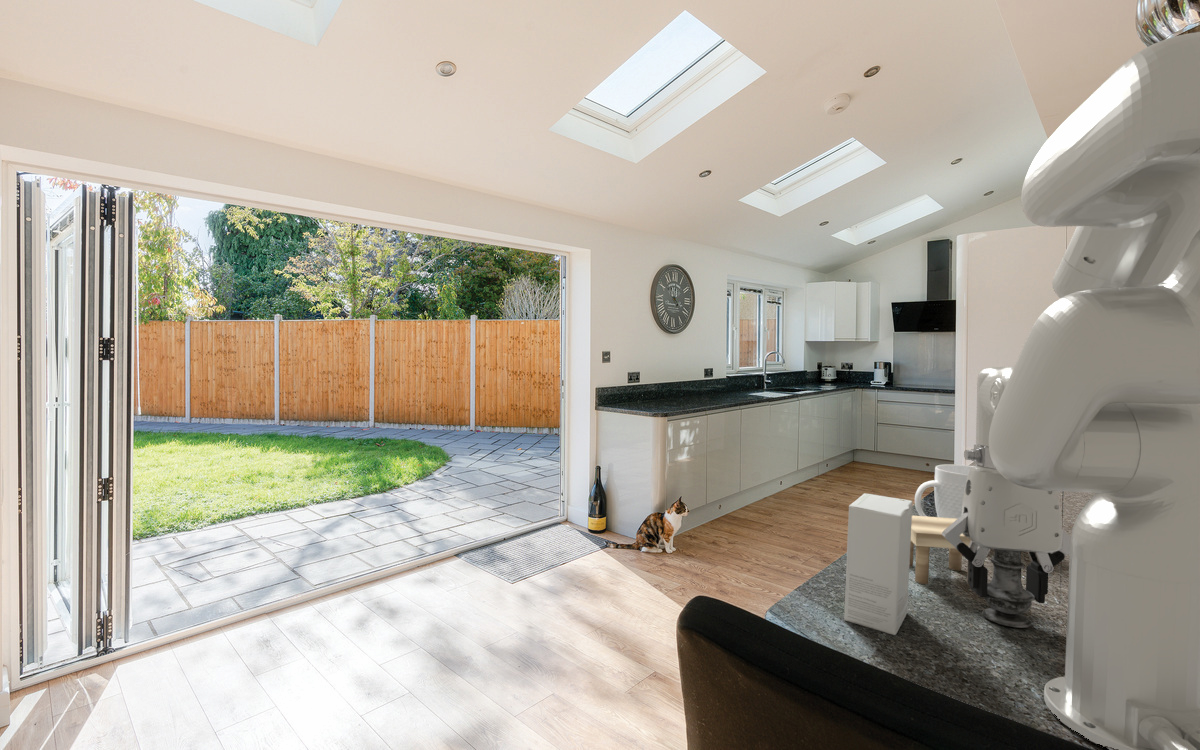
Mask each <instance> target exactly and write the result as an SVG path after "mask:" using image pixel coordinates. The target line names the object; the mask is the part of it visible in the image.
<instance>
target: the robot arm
mask: <svg viewBox="0 0 1200 750" xmlns="http://www.w3.org/2000/svg"><path fill="white" fill-rule="evenodd" d="M1020 198H1021V200H1020V201H1021V202H1020V203H1021V207H1022V211H1023V213H1024V215H1025V217H1026V218H1027V219H1028V221H1030V222H1031V223H1033V224H1035V225H1037V226H1040V227H1043V228H1044V227H1049V228H1051V227H1052V228H1056V227H1061V228H1062V227H1063V228H1064V227H1076V228H1075V230H1074V232H1073V234H1072V236H1071V238H1070V240H1069V243H1068V245H1067V247H1066V250H1065V251H1064V253H1063V256H1062V257H1061V261H1060V262H1059V266H1058V267H1057V269H1056V270H1055V273H1054V274H1053V278H1052V281H1051V282H1052V283H1051V284H1052V289H1053V291H1054V293H1055V294H1056V296H1057V297H1058V298H1059V299H1057V300H1055V301H1054V302H1053V303H1051V304H1050V305H1049V306H1047V308H1046V309H1044V311H1043V312H1042V313H1041V314H1040V315H1039V316H1038V318H1037V319H1036V320H1035V322H1034V324H1033V325H1032V327H1031V329H1030V331H1029V333H1028V335H1027V337H1026V339H1025V340H1024V341H1025V342H1024V343H1023V346H1022V349H1021V350H1020V353H1019V354H1018V358H1017V360H1016V362H1015V363H1014V365H1010V366H993V367H986V368H983V369H982V370H980V372H979V374H978V376H977V382H976V417H975V418H976V419H975V420H976V421H975V422H976V424H975V425H976V426H975V427H976V428H975V430H976V431H975V444H973V448H971V449H965V450H964V453H963V457H964V459H965V460H966V461H967V460H968V461H972V462H973V464H974V466H975V467H970V470H969V473H968V477H967V481H966V485H965V490H964V496H963V504H962V514H961V516H960V517H959V518H958V519H957V520H956V521H955V522H953V523H952V524H951V525H950V526H949V527H947V528H946V529H945V530H944V531H943V532H942V535H943V537H944V538H945V539H946V540H948V541H949V542H950V543H951V544H952V545H953V546H954V547H955V548H956V549H957V550H958V551H959V552H960V553H961V554H962V557H963V558H965V559H966V560H967V571H968V584H969V586H970V587H971V588H970V587H969V588H970V589H971V591H972V592H974V593H975V594H976V595H977V596H978V597H979V598H983V599H984V598H985V597H987V583H989V582H988V580H989V579H988V576H989V570H988V568H987V567H986V566H985V561H986V558H987V556H988V555H989V553H990V552H991V549H992V550H994V549H999V550H1012V551H1021V552H1027V554H1028V557H1029V559H1030V564H1029V563H1028V564H1027V565H1026V567H1025V568H1026V571H1025V590H1027V591H1029V592H1030V593H1032V594H1033V595H1034V596H1035V599H1034V600H1033V601H1035V602H1037V603H1039V604H1045V603H1046V595H1048V593H1049V574H1050V573H1053V571H1054V567H1056V566H1057V565H1058V564H1060V563H1061V562H1062V561H1063V560H1065V558H1066V556H1069V567H1068V569H1069V570H1068V571H1069V572H1068V588H1067V589H1068V590H1067V591H1068V592H1067V613H1066V614H1067V616H1066V639H1065V641H1066V643H1065V644H1066V645H1065V665H1064V666H1065V667H1064V668H1065V669H1064V675H1063V676H1058V677H1055V678H1052V679H1050V680H1049V681H1048V682H1046V683H1045V685H1044V689H1043V690H1044V691H1043V693H1044V694H1043V699H1044V700H1043V701H1044V702H1045V704H1046V707H1047V708H1048V710H1049V711H1050V710H1051V711H1050V712H1051V713H1052V714H1053V715H1054V714H1055V715H1056V716H1057V717H1056V716H1055V715H1054V716H1055V717H1056V718H1057V719H1058V720H1059V719H1060V720H1059V721H1060V722H1061V723H1062V724H1064V725H1065V726H1066V727H1067V728H1069V729H1070V728H1071V729H1070V730H1072V731H1073V730H1074V731H1073V732H1075V731H1076V732H1078V733H1080V734H1081V735H1083V736H1085V737H1084V739H1086V738H1087V739H1086V740H1088V739H1089V740H1088V741H1090V742H1092V743H1094V744H1096V745H1097V744H1100V745H1103V746H1108V747H1112V748H1114V749H1119V750H1200V31H1196V32H1190V33H1185V34H1179V35H1176V36H1171V37H1168V38H1165V39H1163V40H1161V41H1157V42H1155V43H1153V44H1151V45H1149V46H1147V47H1145V48H1143V49H1141V50H1140V51H1139V52H1136V53H1135V54H1134V55H1132V56H1131V57H1130V58H1129V59H1127V61H1125V62H1124V63H1123V64H1122V65H1120V66H1119V67H1118V68H1117V69H1116V70H1115V71H1114V72H1113V73H1112V74H1111V75H1110V76H1109V77H1108V78H1107V79H1106V80H1105V81H1104V82H1102V83H1101V85H1100V86H1099V87H1098V88H1097V89H1096V90H1094V91H1093V92H1092V93H1091V95H1090V96H1089V97H1088V98H1086V100H1084V101H1083V103H1081V104H1080V105H1079V106H1078V107H1077V108H1076V109H1075V110H1074V111H1073V112H1071V114H1070V115H1069V116H1068V117H1067V118H1066V119H1065V120H1064V121H1062V123H1061V124H1060V125H1059V126H1058V127H1057V129H1055V130H1054V131H1053V133H1052V134H1051V135H1050V136H1049V138H1048V139H1046V141H1045V142H1044V144H1043V145H1041V148H1040V149H1039V150H1038V152H1037V154H1036V155H1035V156H1034V158H1033V160H1032V162H1031V164H1030V166H1029V168H1028V171H1027V172H1026V175H1025V178H1024V180H1023V183H1022V189H1021V197H1020ZM1059 492H1066V493H1067V492H1068V493H1070V492H1072V493H1089V494H1090V493H1092V494H1093V495H1092V496H1091V498H1090V499H1089V500H1088V502H1086V504H1085V505H1084V507H1083V508H1082V509H1081V511H1080V512H1079V514H1078V515H1077V517H1076V519H1075V521H1074V524H1073V527H1072V530H1071V535H1069V533H1068V532H1067V531H1066V530H1065V529H1064V528H1063V519H1062V510H1061V503H1060V502H1061V501H1060V495H1059ZM962 533H963V535H964V536H966V537H968V538H971V542H970V544H969V546H967V545H966V544H965V543H964V542H962V540H961V539H960V535H961V534H962ZM1076 732H1075V733H1076ZM1078 733H1077V734H1078ZM1080 734H1079V735H1080ZM1081 735H1080V736H1081ZM1083 736H1082V737H1083Z"/></svg>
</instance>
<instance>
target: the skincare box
mask: <svg viewBox="0 0 1200 750" xmlns="http://www.w3.org/2000/svg"><path fill="white" fill-rule="evenodd" d="M913 504H914V503H913V501H912V500H909V499H903V498H897V497H889V496H886V495H885V496H884V495H878V494H871V493H863V494H862V495H861V496H859V497H858V498H857V499H856V500H855V501H853V502H852V503H850V504H849V505H848V520H847V545H846V570H845V571H846V572H845V589H844V590H845V591H844V593H845V595H844V611H843V612H844V614H843V619H844V621H846V622H849V623H853V624H857V625H860V626H863V627H865V628H870V629H873V630H876V631H879V632H883V633H886V634H890V635H892V636H896V635H897V633H898V631H899V629H900V627H901V626H902V624H903V622H904V620H905V618H906V617H907V614H908V611H909V609H908V605H909V603H908V602H909V600H908V599H909V582H910V579H909V578H910V567H909V565H910V543H911V523H912V516H913Z"/></svg>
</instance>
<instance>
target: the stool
mask: <svg viewBox="0 0 1200 750" xmlns="http://www.w3.org/2000/svg"><path fill="white" fill-rule="evenodd" d="M956 520H957V518H942V517H938V516H928V517H927V515H926V516H920V515H912V523H911V543H910V565H909V568H911V567H915V572H914V574H915V575H914V581H915V582H916V583H918V584H921V585H929V583H930V582H929V581H930V580H929V578H930V548H938V549H939V548H941V549H942V548H943V549H948V569H950V570H952V571H956V572H961V571H962V565H963V561H962V560H963V555H962V554H961V553H960V552H959V551H958V550H957V549H956V548H955V547H954V546H953V545H952V544H951V543H950V542H949V541H948V540H946V539H945V538H944V537H943V535H942V532H943V531H944V530H945V529H946V528H947V527H949V526H950V525H951V524H952V523H953V522H955V521H956ZM960 539H961V540H962V542H964V543H965V544H966V545H967V546H969V544H970V542H971V538H968V537H966V536H964V535H963V533H962V534H961V535H960ZM914 549H915V566H914ZM966 574H967V575H966V577H967V578H966V586H967V587H968V588H970V589H971V587H970V586H969V584H968V570H967V572H966Z"/></svg>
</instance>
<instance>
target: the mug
mask: <svg viewBox="0 0 1200 750" xmlns="http://www.w3.org/2000/svg"><path fill="white" fill-rule="evenodd" d="M970 467H975V465H967V464H951V463H950V464H948V463H947V464H946V463H945V464H939V465H935V467H934V476H933V477H934V480H928V481H925V482H923V483H922V484H920V485H919V487H918V488H917V489H916V491H915V494H914V506H915V510H916V513H917V514H918V516H927V515H926V513H925V512H924V511H923V507H922V496H923V493H924V492H925V490H926V489H928V488H932V487H933V491H934V492H933V494H934V496H933V497H934V505H935V511H936V517H942V518H957V519H958V518H959V517H960V516H961V514H962V504H963V496H964V490H965V485H966V481H967V477H968V473H969V470H970ZM927 517H929V516H927Z"/></svg>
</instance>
